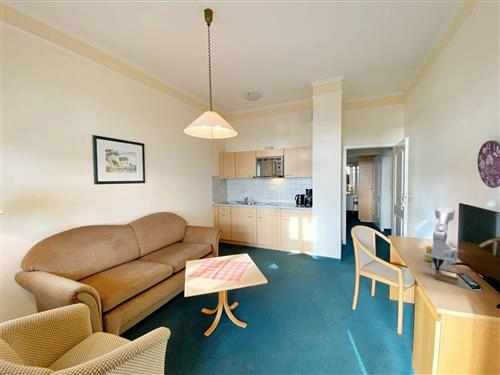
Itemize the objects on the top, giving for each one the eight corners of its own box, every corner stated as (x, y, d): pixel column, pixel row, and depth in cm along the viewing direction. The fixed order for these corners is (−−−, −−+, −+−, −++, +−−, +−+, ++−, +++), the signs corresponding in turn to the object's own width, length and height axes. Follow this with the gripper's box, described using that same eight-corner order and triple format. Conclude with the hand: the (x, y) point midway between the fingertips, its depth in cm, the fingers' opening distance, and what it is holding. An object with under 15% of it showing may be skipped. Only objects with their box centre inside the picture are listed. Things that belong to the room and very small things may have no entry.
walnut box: (435, 273, 140) (435, 267, 140) (456, 279, 134) (456, 272, 133) (435, 279, 133) (435, 272, 133) (457, 285, 126) (457, 278, 126)
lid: (438, 271, 138) (439, 267, 138) (455, 275, 132) (456, 271, 132) (438, 274, 133) (439, 270, 133) (456, 279, 127) (456, 275, 127)
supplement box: (425, 258, 165) (426, 245, 164) (435, 261, 161) (436, 247, 160) (425, 261, 160) (426, 247, 159) (436, 263, 157) (437, 249, 156)
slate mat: (456, 278, 134) (457, 278, 134) (478, 284, 128) (478, 284, 128) (458, 286, 125) (458, 285, 125) (481, 292, 119) (481, 292, 119)
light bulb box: (450, 264, 155) (451, 250, 154) (439, 261, 161) (440, 247, 160) (457, 262, 159) (458, 248, 158) (446, 259, 165) (447, 246, 164)
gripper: (423, 248, 137) (422, 268, 138) (454, 254, 127) (452, 275, 128) (424, 245, 142) (423, 264, 143) (454, 251, 132) (452, 271, 133)
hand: (437, 269), depth 136 cm, fingers closed
